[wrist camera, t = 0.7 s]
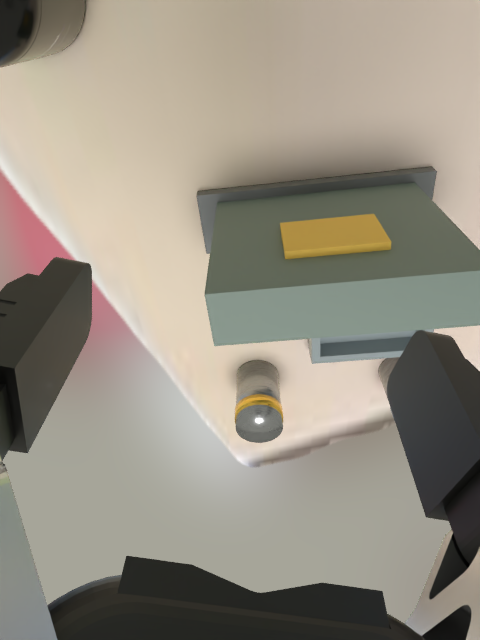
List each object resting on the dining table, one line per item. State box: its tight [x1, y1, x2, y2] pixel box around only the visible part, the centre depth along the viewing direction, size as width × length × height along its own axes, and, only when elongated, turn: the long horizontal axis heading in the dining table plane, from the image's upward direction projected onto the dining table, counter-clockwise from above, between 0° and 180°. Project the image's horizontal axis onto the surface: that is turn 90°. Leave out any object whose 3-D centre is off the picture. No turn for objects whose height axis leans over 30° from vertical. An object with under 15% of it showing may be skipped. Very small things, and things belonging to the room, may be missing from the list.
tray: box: [309, 329, 434, 364], centre depth 38 cm, size 11×11×2 cm
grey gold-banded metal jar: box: [235, 360, 283, 443], centre depth 43 cm, size 5×5×7 cm
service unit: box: [197, 167, 480, 346], centre depth 29 cm, size 18×5×14 cm, turn 96°
